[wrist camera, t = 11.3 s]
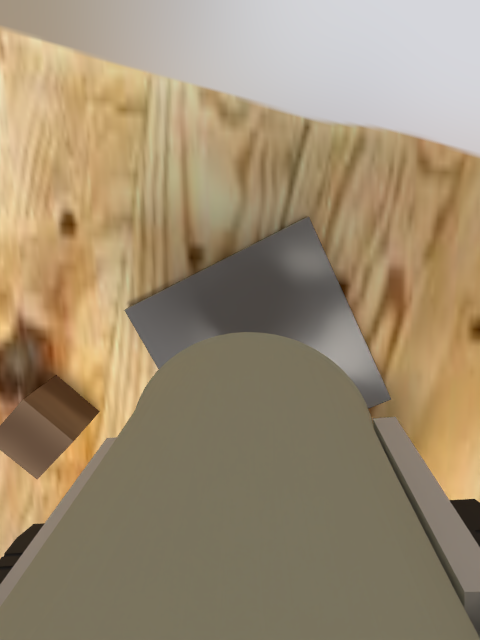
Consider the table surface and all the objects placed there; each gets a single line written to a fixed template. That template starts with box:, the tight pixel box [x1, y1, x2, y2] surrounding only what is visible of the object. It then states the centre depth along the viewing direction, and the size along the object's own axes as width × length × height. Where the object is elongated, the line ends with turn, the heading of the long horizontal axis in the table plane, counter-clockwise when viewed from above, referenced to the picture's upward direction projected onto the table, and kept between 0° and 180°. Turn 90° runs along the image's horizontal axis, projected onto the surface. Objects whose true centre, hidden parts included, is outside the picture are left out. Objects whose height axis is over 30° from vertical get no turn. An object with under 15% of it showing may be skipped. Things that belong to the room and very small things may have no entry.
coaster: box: [125, 217, 391, 408], centre depth 26 cm, size 13×13×1 cm
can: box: [0, 332, 480, 640], centre depth 9 cm, size 9×9×12 cm
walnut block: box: [0, 375, 99, 479], centre depth 27 cm, size 4×4×4 cm
